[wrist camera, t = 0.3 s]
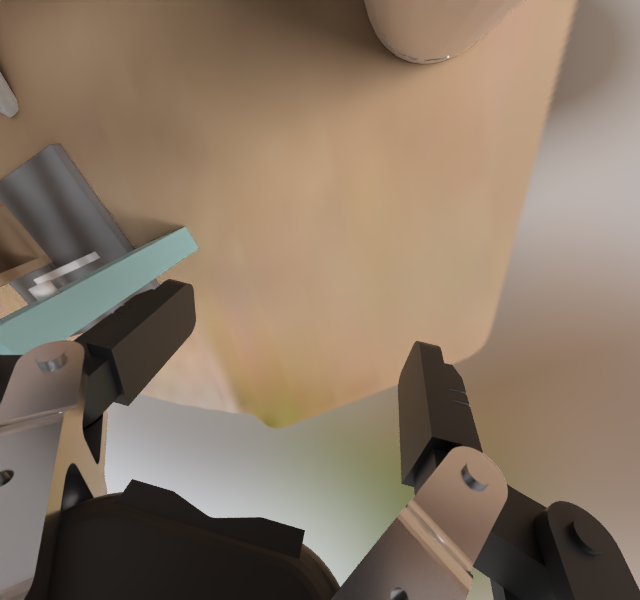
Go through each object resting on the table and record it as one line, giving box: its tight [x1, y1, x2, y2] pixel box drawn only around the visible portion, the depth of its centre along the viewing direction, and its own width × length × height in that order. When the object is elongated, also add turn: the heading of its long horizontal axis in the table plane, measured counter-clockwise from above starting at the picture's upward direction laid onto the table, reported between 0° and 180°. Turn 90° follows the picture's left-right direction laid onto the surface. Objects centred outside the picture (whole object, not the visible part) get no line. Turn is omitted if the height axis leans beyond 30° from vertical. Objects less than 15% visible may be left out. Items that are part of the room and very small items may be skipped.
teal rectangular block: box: [0, 226, 199, 355], centre depth 25 cm, size 6×4×18 cm, turn 113°
